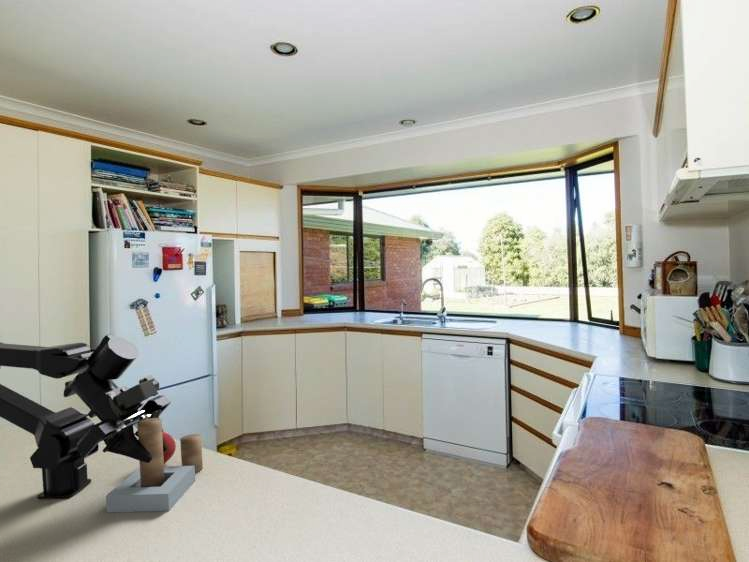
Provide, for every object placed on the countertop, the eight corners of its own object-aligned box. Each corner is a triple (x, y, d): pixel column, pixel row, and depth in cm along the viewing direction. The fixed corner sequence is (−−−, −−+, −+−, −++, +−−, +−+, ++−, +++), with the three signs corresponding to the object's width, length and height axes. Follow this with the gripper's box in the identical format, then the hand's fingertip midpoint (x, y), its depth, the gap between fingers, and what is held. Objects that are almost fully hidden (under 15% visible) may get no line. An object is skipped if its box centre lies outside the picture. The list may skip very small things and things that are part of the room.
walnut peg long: (136, 495, 82) (133, 425, 82) (148, 485, 86) (144, 418, 86) (158, 495, 82) (154, 425, 82) (168, 484, 86) (165, 417, 86)
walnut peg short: (178, 475, 92) (176, 441, 92) (187, 466, 96) (185, 434, 96) (198, 474, 92) (196, 441, 92) (205, 466, 96) (204, 433, 96)
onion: (164, 472, 94) (162, 434, 94) (140, 470, 95) (138, 433, 95) (181, 460, 99) (179, 424, 99) (158, 458, 101) (156, 423, 100)
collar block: (106, 512, 79) (105, 495, 79) (140, 482, 90) (139, 467, 90) (169, 510, 79) (168, 493, 78) (195, 480, 90) (194, 465, 89)
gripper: (87, 379, 75) (150, 447, 73) (159, 356, 93) (211, 410, 92) (49, 424, 76) (110, 492, 75) (128, 393, 95) (178, 446, 93)
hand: (158, 456), depth 84 cm, fingers closed on walnut peg long, 4 cm apart
